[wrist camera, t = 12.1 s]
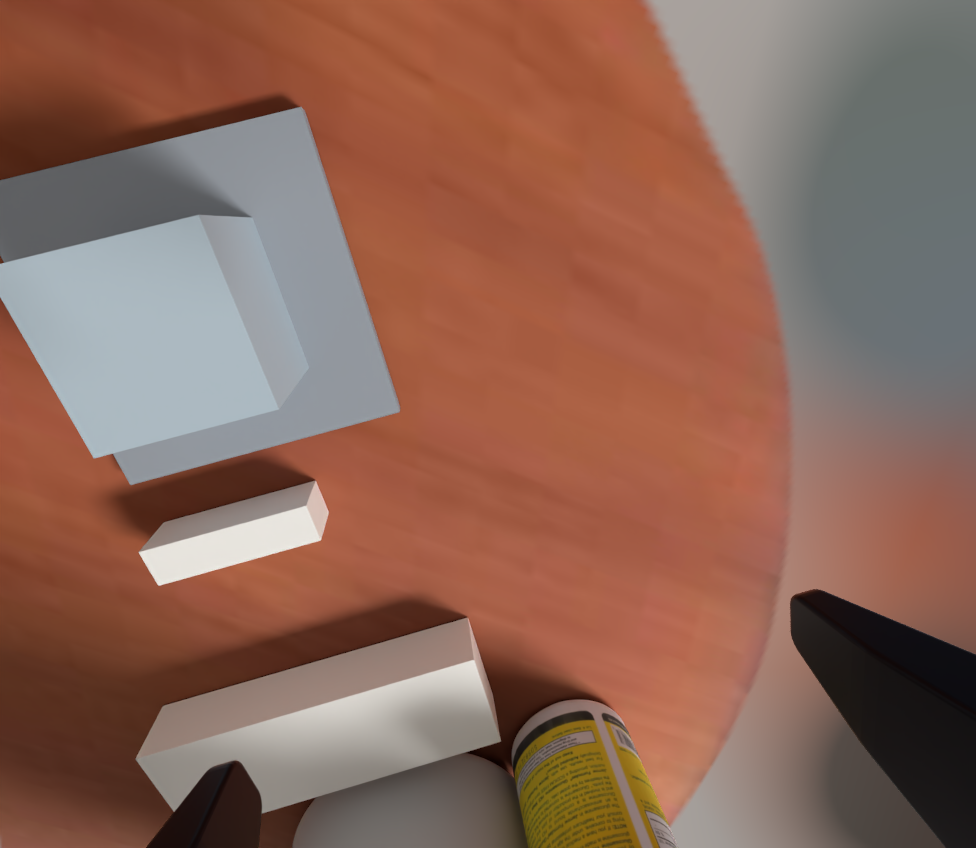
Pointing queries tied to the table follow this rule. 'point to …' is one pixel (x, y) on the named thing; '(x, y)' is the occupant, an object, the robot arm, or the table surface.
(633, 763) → the pill bottle
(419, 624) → the table surface
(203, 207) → the mat
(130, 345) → the pale blue cube
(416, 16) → the table surface
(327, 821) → the cylinder vase
